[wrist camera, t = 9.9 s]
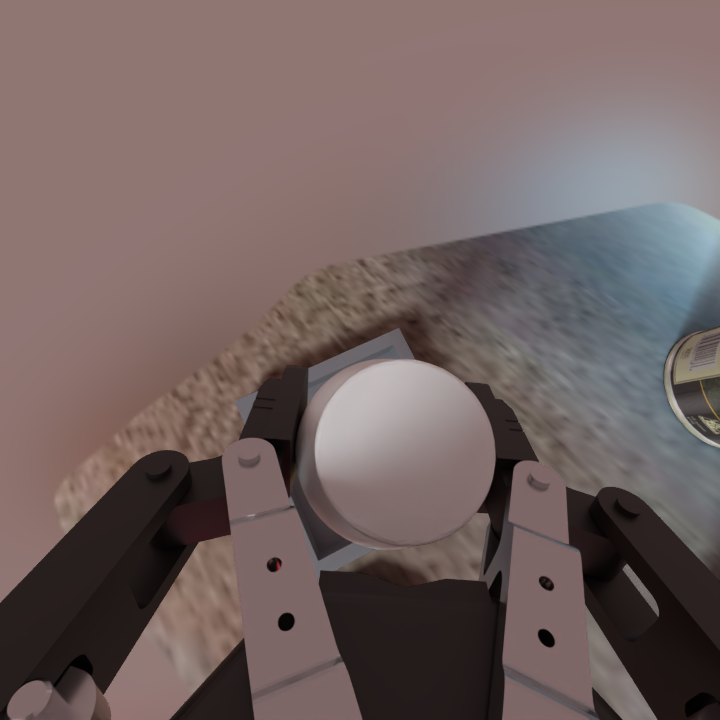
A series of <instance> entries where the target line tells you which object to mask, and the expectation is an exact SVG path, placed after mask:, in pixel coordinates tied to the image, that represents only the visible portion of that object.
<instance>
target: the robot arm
mask: <svg viewBox="0 0 720 720" xmlns="http://www.w3.org/2000/svg"><path fill="white" fill-rule="evenodd" d="M308 373H309V370H308V367H299V366H288V365H287V366H286V369H285V372H284V375H283V378H282V380H281V379H269V380H267V381H266V382H265V383H264V384H263V385H262V386H260V388H259V390H258V393H257V396H256V399H255V401H254V403H253V406H252V408H251V411H250V413H249V416H248V418H247V421H246V423H245V426H244V428H243V431H242V433H241V436H240V438H239V441H236V442H234V443H233V444H231V445H230V446H229V447H228V448H227V449H226V450H225V451H224V453H223V455H221V456H219V457H216V458H213V459H208V460H202V461H197V462H191V463H189V461H188V459H187V457H186V456H185V455H184V454H182V453H180V452H177V451H172V450H163V451H157V452H154V453H151V454H149V455H146V456H144V457H143V458H141V459H140V460H138V461H137V462H136V463H135V464H134V465H133V466H132V467H131V468H130V469H129V470H128V471H127V472H126V473H125V474H124V475H123V476H122V477H121V478H120V479H119V480H118V481H117V482H116V483H115V485H114V486H113V487H112V488H111V489H110V490H109V491H108V492H107V493H106V494H105V495H104V496H103V497H102V498H101V499H100V500H99V501H98V502H97V503H96V504H95V505H94V506H93V507H92V508H91V509H90V510H89V511H88V513H87V514H86V515H85V516H84V517H83V518H82V519H81V520H80V521H79V522H78V523H77V524H76V525H75V526H74V527H73V528H72V529H71V530H70V531H69V532H68V533H67V534H66V535H65V536H64V537H63V538H62V539H61V540H60V542H59V543H58V544H57V545H56V546H55V547H54V548H53V549H52V550H51V551H50V552H49V553H48V554H47V555H46V556H45V557H44V558H43V559H42V560H41V561H40V562H39V563H38V564H37V565H36V567H34V568H33V570H32V571H31V572H30V573H29V574H28V575H27V576H26V577H25V578H24V579H23V580H22V581H21V582H20V583H19V584H18V585H17V586H16V587H15V588H14V589H13V590H12V591H11V592H10V593H9V595H7V597H6V598H5V599H4V600H3V601H2V602H1V603H0V720H111V711H110V707H109V704H108V702H107V700H106V699H105V697H104V696H103V695H104V693H105V692H106V690H107V688H108V687H109V685H110V684H111V682H112V680H113V679H114V677H115V676H116V674H117V672H118V671H119V669H120V668H121V666H122V664H123V663H124V661H125V660H126V658H127V656H128V655H129V653H130V652H131V650H132V648H133V647H134V645H135V643H136V642H137V640H138V639H139V637H140V635H141V634H142V632H143V631H144V629H145V627H146V626H147V624H148V623H149V621H150V619H151V618H152V616H153V615H154V613H155V611H156V610H157V608H158V607H159V605H160V603H161V602H162V600H163V599H164V597H165V595H166V594H167V592H168V591H169V589H170V587H171V586H172V584H173V583H174V581H175V579H176V578H177V576H178V575H179V573H180V571H181V570H182V568H183V567H184V565H185V563H186V562H187V560H188V559H189V557H190V555H191V554H192V552H193V551H194V549H195V547H196V546H197V544H198V542H201V541H205V540H209V539H213V538H218V537H222V536H226V535H231V537H232V545H233V553H234V561H235V569H236V577H237V584H238V592H239V600H240V608H241V616H242V624H243V632H244V638H243V639H242V641H241V642H240V643H239V644H238V645H237V646H236V647H235V648H234V649H233V650H232V652H231V653H230V654H229V655H228V656H227V657H226V658H225V659H224V660H223V661H222V662H221V664H220V665H219V666H218V667H217V668H216V669H215V670H214V671H213V672H212V673H211V675H210V676H209V677H208V678H207V679H206V680H205V681H204V682H203V683H202V684H201V686H200V687H199V688H198V689H197V690H196V691H195V692H194V693H193V694H192V695H191V697H190V698H189V699H188V700H187V701H186V702H185V703H184V704H183V705H182V706H181V708H180V709H179V710H178V711H177V712H176V713H175V714H174V715H173V716H172V718H171V719H170V720H622V719H621V718H620V716H619V715H618V714H617V713H616V712H615V711H614V710H613V709H612V708H611V707H610V706H609V705H608V704H607V703H606V701H605V700H604V699H603V698H602V697H601V696H600V695H599V694H598V693H597V692H596V691H595V690H594V689H593V687H592V685H591V672H590V660H589V648H588V636H587V623H586V611H585V605H586V606H587V608H588V609H589V611H590V613H591V614H592V616H593V617H594V619H595V621H596V622H597V624H598V625H599V627H600V629H601V630H602V632H603V633H604V635H605V637H606V638H607V640H608V641H609V643H610V644H611V646H612V648H613V649H614V651H615V652H616V654H617V656H618V657H619V659H620V660H621V662H622V664H623V665H624V667H625V668H626V670H627V672H628V673H629V675H630V676H631V678H632V679H633V681H634V683H635V684H636V686H637V687H638V689H639V691H640V692H641V694H642V695H643V697H644V699H645V700H646V702H647V703H648V705H649V707H650V708H651V710H652V711H653V713H654V714H655V716H656V718H657V719H658V720H720V581H719V580H718V579H717V578H716V577H715V576H714V575H713V573H712V572H711V571H710V570H709V569H708V568H707V567H706V566H705V565H704V564H703V563H702V562H701V561H700V560H699V559H698V558H697V557H696V555H695V554H694V553H693V552H692V551H691V550H690V549H689V548H688V547H687V546H686V545H685V544H684V543H683V542H682V541H681V540H680V539H679V538H678V536H677V535H676V534H675V533H674V532H673V531H672V530H671V529H670V528H669V527H668V526H667V525H666V524H665V523H664V522H663V521H662V520H661V518H660V517H659V516H658V515H657V514H656V513H655V512H654V511H653V510H652V509H651V508H650V507H649V506H648V505H647V504H646V503H645V502H644V501H643V500H641V499H640V498H639V497H637V496H636V495H634V494H632V493H630V492H628V491H626V490H623V489H620V488H616V487H605V488H603V489H601V490H600V491H599V493H598V494H597V496H596V497H594V496H591V495H588V494H585V493H582V492H579V491H576V490H573V489H570V488H568V487H566V486H565V483H564V481H563V480H562V478H561V477H560V476H559V475H558V474H557V473H556V472H555V471H554V470H553V469H551V468H550V467H548V466H546V465H544V464H542V463H539V461H538V459H537V457H536V455H535V453H534V451H533V449H532V447H531V445H530V443H529V441H528V439H527V437H526V435H525V433H524V432H523V429H522V427H521V425H520V423H518V419H517V418H516V416H515V414H514V412H513V410H512V409H511V408H510V407H509V406H508V405H507V404H506V403H505V402H504V401H503V400H500V399H495V397H494V395H493V393H492V391H491V389H490V387H489V385H488V384H481V383H470V382H465V383H464V384H465V385H466V386H467V387H468V388H469V389H470V390H471V391H472V392H473V393H474V395H475V396H476V397H477V399H478V400H479V402H480V403H481V405H482V407H483V409H484V410H485V412H486V414H487V417H488V419H489V421H490V424H491V427H492V432H493V436H494V441H495V455H496V458H495V469H494V475H493V479H492V483H491V486H490V489H489V492H488V494H487V496H486V498H485V500H484V502H483V503H482V505H481V506H480V508H479V509H478V511H477V512H476V513H488V514H489V517H490V523H489V525H488V527H487V531H486V537H485V543H484V550H483V556H482V562H481V569H480V575H479V581H470V580H455V579H443V580H438V581H434V582H429V583H425V584H420V585H415V586H411V587H401V586H398V585H395V584H392V583H389V582H386V581H383V580H381V579H378V578H375V577H372V576H369V575H366V574H363V573H353V572H339V571H324V570H320V578H319V583H318V580H317V577H316V574H315V570H314V567H313V563H312V560H311V557H310V553H309V550H308V546H307V543H306V540H305V536H304V533H303V529H302V526H301V523H300V519H299V516H298V513H297V510H296V508H295V506H291V505H290V501H289V498H290V496H291V491H292V486H293V481H294V476H295V471H296V460H295V445H296V438H297V432H298V427H299V424H300V421H301V418H302V416H303V413H304V411H305V409H306V407H307V401H308ZM626 564H628V565H629V566H630V568H631V569H632V570H633V571H634V573H635V574H636V575H637V576H638V578H639V579H640V580H641V582H642V583H643V584H644V585H645V587H646V588H647V589H648V591H649V592H650V593H651V594H652V596H653V597H654V599H655V601H656V603H657V605H658V608H659V617H658V616H657V615H656V614H655V612H654V611H653V610H652V608H651V607H650V606H649V604H648V603H647V602H646V600H645V599H644V598H643V596H642V595H641V594H640V592H639V591H638V590H637V588H636V587H635V586H634V584H633V583H632V582H631V580H630V579H629V578H628V577H627V575H626V574H625V573H624V571H623V570H622V569H623V568H624V566H625V565H626Z"/></svg>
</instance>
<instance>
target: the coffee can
mask: <svg viewBox="0 0 720 720" xmlns="http://www.w3.org/2000/svg"><path fill="white" fill-rule="evenodd" d="M664 387H665V390H666V394H667V398H668V401H669V403H670V406H671V408H672V410H673V411H674V413H675V415H676V416H677V418H678V419H679V420H680V421H681V423H682V424H683V425H684V426H685V427H686V428H687V429H688V430H689V431H690V432H691V433H692V434H694V435H695V436H696V437H698V438H699V439H701V440H702V441H704V442H706V443H708V444H710V445H712V446H715V447H718V448H720V326H718V327H714V328H711V329H708V330H704V331H699V332H695V333H692V334H690V335H687V336H686V337H684V338H683V339H681V340H680V341H679V342H678V343H676V344H675V346H674V347H673V349H672V350H671V352H670V354H669V356H668V358H667V361H666V364H665V370H664Z"/></svg>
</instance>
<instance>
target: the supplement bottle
mask: <svg viewBox="0 0 720 720" xmlns="http://www.w3.org/2000/svg"><path fill="white" fill-rule="evenodd" d="M495 458H496V455H495V441H494V436H493V432H492V427H491V424H490V421H489V419H488V417H487V414H486V412H485V410H484V409H483V407H482V405H481V403H480V402H479V400H478V399H477V397H476V396H475V395H474V393H473V392H472V391H471V390H470V389H469V388H468V387H467V386H466V385H465V384H464V383H463V382H462V381H461V380H459V379H458V378H457V377H456V376H454V375H452V374H451V373H449V372H448V371H446V370H445V369H443V368H440V367H438V366H435V365H433V364H430V363H427V362H423V361H419V360H413V359H374V360H368V361H364V362H360V363H357V364H354V365H352V366H350V367H348V368H345V369H343V370H342V371H340V372H339V373H337V374H336V375H334V376H333V377H331V378H330V379H329V380H328V381H327V382H325V383H324V384H323V385H322V386H321V387H320V389H319V390H318V391H317V392H316V393H315V394H314V396H313V397H312V399H311V400H310V402H309V404H308V405H307V407H306V409H305V411H304V413H303V416H302V418H301V421H300V424H299V427H298V432H297V438H296V445H295V460H296V468H297V474H298V478H299V482H300V485H301V487H302V490H303V492H304V495H305V497H306V498H307V500H308V502H309V504H310V506H311V507H312V509H313V510H314V511H315V513H316V514H317V515H318V517H319V518H320V519H321V520H322V521H323V522H324V523H325V524H326V525H327V526H328V527H329V528H331V529H332V530H333V531H334V532H336V533H337V534H339V535H340V536H342V537H344V538H345V539H347V540H349V541H351V542H354V543H356V544H359V545H362V546H365V547H369V548H373V549H381V550H397V549H404V548H410V547H413V546H419V545H425V544H430V543H433V542H436V541H439V540H441V539H443V538H445V537H448V536H450V535H451V534H453V533H455V532H456V531H457V530H459V529H460V528H462V527H463V526H464V525H465V524H466V523H467V522H468V521H469V520H470V519H471V518H472V517H473V516H474V515H475V513H476V512H477V511H478V509H479V508H480V506H481V505H482V503H483V502H484V500H485V498H486V496H487V494H488V492H489V489H490V486H491V483H492V479H493V475H494V469H495Z"/></svg>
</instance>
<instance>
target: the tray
mask: <svg viewBox="0 0 720 720" xmlns="http://www.w3.org/2000/svg"><path fill="white" fill-rule="evenodd" d="M374 359H413V360H415V358H414V356H413V354H412V352H411V350H410V348H409V346H408V344H407V342H406V340H405V338H404V337H403V335H402V333H401V331H400V329H399V328H397V329H395V330H393V331H391V332H388V333H386V334H384V335H382V336H379V337H377V338H375V339H373V340H370V341H368V342H366V343H364V344H362V345H359V346H357V347H355V348H353V349H350V350H348V351H346V352H344V353H341V354H339V355H337V356H335V357H332V358H330V359H328V360H326V361H324V362H321V363H319V364H317V365H315V366H312V367H310V368H308V370H309V373H308V401H307V405H308V404H309V402H310V400H311V399H312V397H313V396H314V394H315V393H316V392H317V391H318V390H319V389H320V387H321V386H322V385H323V384H324V383H325V382H327V381H328V380H329V379H330V378H331V377H333V376H334V375H336V374H337V373H339V372H340V371H342V370H343V369H345V368H348V367H350V366H352V365H354V364H357V363H360V362H364V361H368V360H374ZM257 393H258V391H256V392H254V393H252V394H250V395H248V396H245V397H243V398H241V399H239V400H236V401H235V402H236V405H237V407H238V410H239V412H240V415H241V417H242V419H243V422H244V424H245V423H246V421H247V418H248V416H249V413H250V411H251V408H252V406H253V403H254V401H255V399H256V396H257ZM289 501H290V505H291V506H295V508H296V510H297V513H298V516H299V519H300V523H301V526H302V529H303V533H304V536H305V540H306V543H307V546H308V550H309V553H310V557H311V560H312V563H313V567H314V570H315V574H316V577H317V580H318V579H319V578H320V570H324V571H335V570H337V569H339V568H341V567H343V566H344V565H346V564H348V563H350V562H352V561H354V560H356V559H358V558H359V557H361V556H363V555H365V554H367V553H369V552H371V551H372V550H374V549H373V548H369V547H365V546H362V545H359V544H356V543H354V542H351V541H349V540H347V539H345V538H344V537H342V536H340V535H339V534H337V533H336V532H334V531H333V530H332V529H331V528H329V527H328V526H327V525H326V524H325V523H324V522H323V521H322V520H321V519H320V518H319V517H318V515H317V514H316V513H315V511H314V510H313V509H312V507H311V506H310V504H309V502H308V500H307V498H306V497H305V495H304V492H303V490H302V487H301V485H300V482H299V478H298V474H297V468H296V471H295V476H294V481H293V486H292V491H291V496H290V498H289Z"/></svg>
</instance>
